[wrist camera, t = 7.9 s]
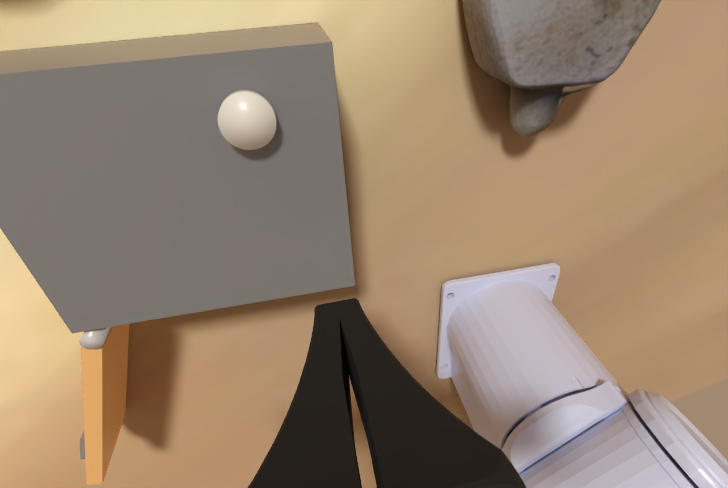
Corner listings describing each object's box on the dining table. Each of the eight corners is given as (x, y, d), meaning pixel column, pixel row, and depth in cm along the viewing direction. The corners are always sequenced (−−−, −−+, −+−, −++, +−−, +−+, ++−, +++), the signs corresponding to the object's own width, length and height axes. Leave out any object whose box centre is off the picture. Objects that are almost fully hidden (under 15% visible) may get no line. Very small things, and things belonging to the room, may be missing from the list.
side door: (99, 412, 27) (71, 484, 23) (98, 266, 21) (61, 332, 17) (126, 412, 27) (103, 484, 24) (132, 270, 21) (103, 336, 18)
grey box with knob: (340, 227, 23) (357, 294, 18) (81, 266, 21) (28, 350, 16) (317, 22, 17) (334, 44, 12) (-42, 55, 15) (-175, 95, 11)
